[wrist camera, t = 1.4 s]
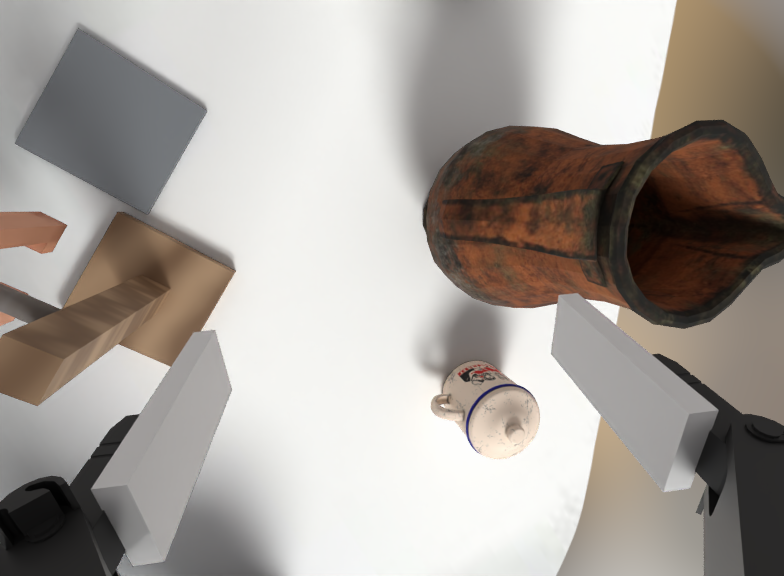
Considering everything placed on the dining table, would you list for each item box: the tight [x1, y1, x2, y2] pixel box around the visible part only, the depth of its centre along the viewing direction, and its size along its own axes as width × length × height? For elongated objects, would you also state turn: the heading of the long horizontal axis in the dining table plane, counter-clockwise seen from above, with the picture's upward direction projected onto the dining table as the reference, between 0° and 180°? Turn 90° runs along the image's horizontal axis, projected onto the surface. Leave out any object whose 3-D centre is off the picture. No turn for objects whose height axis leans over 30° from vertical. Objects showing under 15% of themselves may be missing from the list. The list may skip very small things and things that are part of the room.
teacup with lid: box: [431, 361, 540, 459], centre depth 48 cm, size 12×9×12 cm
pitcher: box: [423, 120, 784, 329], centre depth 35 cm, size 17×21×30 cm
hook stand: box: [0, 212, 236, 406], centre depth 31 cm, size 16×12×22 cm
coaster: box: [15, 28, 207, 214], centre depth 39 cm, size 12×12×1 cm
